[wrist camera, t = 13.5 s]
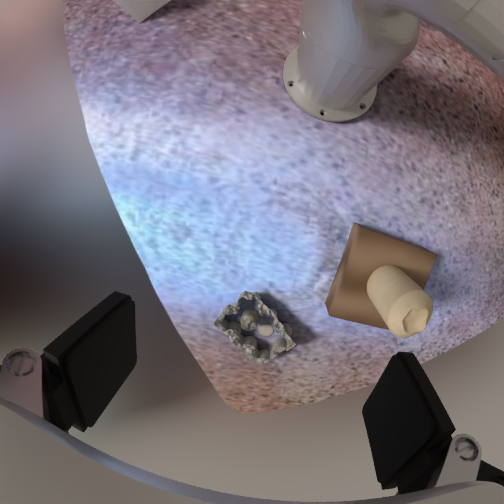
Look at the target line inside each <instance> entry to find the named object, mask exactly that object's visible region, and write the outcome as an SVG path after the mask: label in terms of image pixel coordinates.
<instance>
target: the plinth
mask: <svg viewBox="0 0 504 504" xmlns="http://www.w3.org/2000/svg"><path fill="white" fill-rule="evenodd" d="M436 256H437V255H436V254H434V253H432V252H430V251H429V250H427V249H425V248H423V247H421V246H418V245H415V244H413V243H410V242H407V241H405V240H402V239H399V238H396V237H394V236H391V235H388V234H385V233H383V232H380V231H377V230H374V229H371V228H368V227H365V226H362V225H359V224H356V223H354V224H353V227H352V230H351V233H350V236H349V239H348V242H347V245H346V248H345V251H344V253H343V256H342V259H341V262H340V265H339V268H338V270H337V273H336V276H335V278H334V281H333V284H332V286H331V289H330V291H329V294H328V297H327V299H326V302H325V304H326V307H327V310H328V314H329V316H332V317H336V318H340V319H344V320H348V321H352V322H357V323H361V324H365V325H370V326H374V327H378V328H383V329H388V330H389V328H388V326H387V325H386V323H385V322H384V320H383V318H382V317H381V315H380V314H379V312H378V310H377V309H376V307H375V306H374V304H373V303H372V301H371V300H370V298H369V296H368V293H367V282H368V279H369V277H370V275H371V274H372V273H373V272H374V271H375V270H376V269H377V268H379V267H381V266H384V265H393V266H396V267H398V268H399V269H400V270H402V271H403V272H404V273H405V274H406V275H407V276H409V277H410V278H411V279H412V280H413V281H414V282H415V283H416V284H418V285H419V286H420V287H421V288H422V289H424V287H425V284H426V282H427V279H428V277H429V274H430V272H431V269H432V267H433V264H434V262H435V259H436Z"/></svg>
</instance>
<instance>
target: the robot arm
mask: <svg viewBox="0 0 504 504" xmlns="http://www.w3.org/2000/svg"><path fill="white" fill-rule="evenodd" d="M419 19H420V20H421V21H423V22H425V23H426V24H428V25H430V26H431V27H433V28H436V29H438V30H439V31H441V32H442V33H444V34H445V35H446V36H448V37H449V38H451V39H452V40H454V41H455V42H456V43H458V44H459V45H460V46H462V47H463V48H464V49H466V50H467V51H468V52H470V53H471V54H472V55H473V56H474V57H476V58H477V59H478V60H479V61H481V62H482V63H483V64H484V65H485V66H487V67H488V68H489V69H490V70H491V71H492V72H493V73H494V74H496V75H497V76H498V77H499V78H500V79H501V80H502V81H503V82H504V0H303V7H302V19H301V28H300V37H299V45H298V46H297V47H296V48H295V49H293V50H292V51H291V53H290V54H289V55H288V57H287V59H286V61H285V63H284V69H283V80H284V85H285V88H286V90H287V93H288V95H289V96H290V98H291V99H292V101H293V102H294V103H295V104H296V105H297V106H298V107H299V108H300V109H302V110H303V111H304V112H305V113H307V114H309V115H311V116H313V117H315V118H318V119H321V120H324V121H330V122H344V121H350V120H352V119H355V118H357V117H359V116H360V115H362V114H363V113H365V112H366V111H367V110H368V109H369V108H370V106H371V105H372V104H373V102H374V100H375V97H376V93H377V84H378V83H379V82H380V81H381V80H382V79H384V78H385V77H386V76H387V75H388V74H389V73H390V72H391V71H392V70H393V69H394V68H396V67H397V66H398V65H399V64H400V63H401V62H402V61H403V60H404V59H405V58H406V57H407V56H408V55H409V54H410V53H411V52H412V51H413V49H414V48H415V46H416V44H417V41H418V38H419V30H420V24H419ZM290 84H292V85H293V86H292V87H290V86H289V85H290ZM359 106H361V107H362V109H361V108H360V107H359ZM321 112H322V113H324V115H321V114H320V113H321ZM43 351H44V353H43V354H42V355H41V356H39V354H38V353H37V352H35V351H34V350H32V349H29V348H17V349H14V350H12V351H10V352H9V353H7V354H6V356H5V357H4V358H3V361H2V365H0V504H504V472H503V471H501V470H500V469H497V468H496V467H494V466H491V465H490V464H488V463H486V462H484V461H482V460H481V448H480V445H479V443H478V442H477V441H476V440H475V438H473V437H471V436H470V435H467V434H458V435H456V436H455V437H454V438H453V439H452V437H451V435H452V433H453V432H454V431H455V430H456V429H455V427H454V425H453V423H452V421H451V419H450V417H449V415H448V414H447V411H446V410H445V408H444V406H443V404H442V402H441V400H440V399H439V396H438V395H437V393H436V391H435V389H434V388H433V386H432V384H431V382H430V380H429V379H428V377H427V375H426V374H425V372H424V370H423V368H422V367H421V365H420V363H419V362H418V360H417V358H416V357H415V355H414V354H413V353H409V352H398V353H397V354H396V355H393V356H392V358H391V359H390V361H389V363H388V365H387V367H386V369H385V370H384V372H383V374H382V376H381V377H380V379H379V381H378V383H377V385H376V386H375V388H374V389H373V391H372V393H371V394H370V396H369V398H368V399H367V401H366V403H365V404H364V406H363V410H362V414H363V418H364V422H365V426H366V430H367V434H368V439H369V443H370V447H371V452H372V457H373V461H374V466H375V471H376V476H377V480H378V482H379V483H381V486H382V490H384V489H392V488H395V487H398V492H397V494H396V495H395V496H389V497H383V498H376V499H367V500H356V501H341V502H293V501H279V500H268V499H260V498H252V497H245V496H239V495H233V494H227V493H222V492H218V491H213V490H209V489H204V488H200V487H196V486H192V485H188V484H185V483H182V482H178V481H175V480H171V479H168V478H165V477H162V476H159V475H156V474H154V473H151V472H148V471H145V470H143V469H140V468H138V467H135V466H133V465H130V464H128V463H126V462H123V461H121V460H119V459H117V458H114V457H112V456H110V455H108V454H106V453H104V452H102V451H100V450H98V449H96V448H94V447H92V446H90V445H88V444H86V443H84V442H82V441H80V440H78V439H77V438H75V437H73V436H71V435H70V434H69V432H68V430H69V429H70V428H71V426H73V427H75V428H77V429H78V430H80V431H82V432H85V430H86V429H87V427H92V426H93V425H94V424H95V423H96V421H97V419H98V418H99V417H100V415H101V414H102V412H103V411H104V410H105V408H106V407H107V405H108V404H109V402H110V401H111V400H112V398H113V397H114V395H115V394H116V393H117V391H118V390H119V388H120V387H121V385H122V384H123V383H124V381H125V380H126V378H127V377H128V375H129V374H130V373H131V371H132V370H133V369H134V367H135V365H136V362H137V353H136V330H135V302H134V301H132V300H131V297H130V296H129V295H126V294H123V293H120V292H116V291H115V292H113V293H112V294H111V295H109V296H108V297H107V298H106V299H104V300H103V301H102V302H100V303H99V304H98V305H97V306H95V307H94V308H93V309H91V310H90V311H89V312H88V313H86V314H85V315H84V316H83V317H81V318H80V319H79V320H78V321H77V322H75V323H74V324H73V325H72V326H70V327H69V328H68V329H67V330H66V331H64V332H63V333H62V334H61V335H60V336H58V337H57V338H56V339H55V340H54V341H53V342H51V343H50V344H49V345H48V346H47V347H46V348H44V349H43Z"/></svg>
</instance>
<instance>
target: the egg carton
mask: <svg viewBox="0 0 504 504" xmlns="http://www.w3.org/2000/svg"><path fill="white" fill-rule="evenodd" d="M242 297H244V298H245V299H247V300H252V299H253V298H255V299H257V300H258V301H259V304H258V311H259V314H260V315H261V316H263V315H268V316H269V315H273V317H274V323H273V325H274V329H276V330H277V333H280V334H282V335H283V336H284V338H285V339H284V338H277V339H276V340H275V341H274V342H273V349H272V350H271V351H269V350H266V349H263V350H258V349H257V340H256V338H254V337H252V336H246V337H244V336H242V335H241V330H242V329H243V330H248V331H251V330H253V329H256V328H257V320H258V313H257V312H256V310H254V309H251V308H249V309H246V310H245V311H244V312H243V314H242V317H241V321H240V322H241V325H240V324H239V323H238V322H236V321H231V322H227V321H226V320H225V319H224V318H225V316H226V314H227V315H231V314H237V313H239V309H240V306H241V303H242ZM260 300H261V296H260V294H259V293H257V292H254V293H249V292H246V291H244V292H243V293H241V294H240V297H239V299H238V302H237V303H235V304H233V305H232V306H230V305H227V306H226V307H224V310H223V312H222V314H221V315H220V316H219V317H218V319H217V320H216V321H215V323H214V325H215V326H217V327H218V328H219V329H220V330H221V331H223V332H224V333H225V334H226V336H227V337H229V338H230V340H231V342H232V343H234V344H235V345H236V346H237V347H238V348H239V349H240V350H241V351H243V352H244V354H245V355H246V356H247V357H248V358H249V359H250V360H251V361H252V362H254V363H259V364H264V363H266V362H268V361H270V360H271V359H272V358H274V357H277V356H278V355H279V353H280V352H282V351H284V350H286V351H287V350H289V349H291V348H292V347H296V346H297V345H296V344H295V342H293V341H292V340H291V334H292V328H291V326H290V325H289V324H288V323H286V324H281V323H280V322H279V321H278V319H277V312H276V311H275V310H273V309H272V308H270V309H269V308H268V307H267V306H266V305H265V304H263V303H262V302H261V301H260ZM273 331H274V330H273V327H272V326H271V325H269V324H262V325H261V326H260V327H259V333H260V335H262V336H264V337H267V336H270V335H272V333H273Z"/></svg>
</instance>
